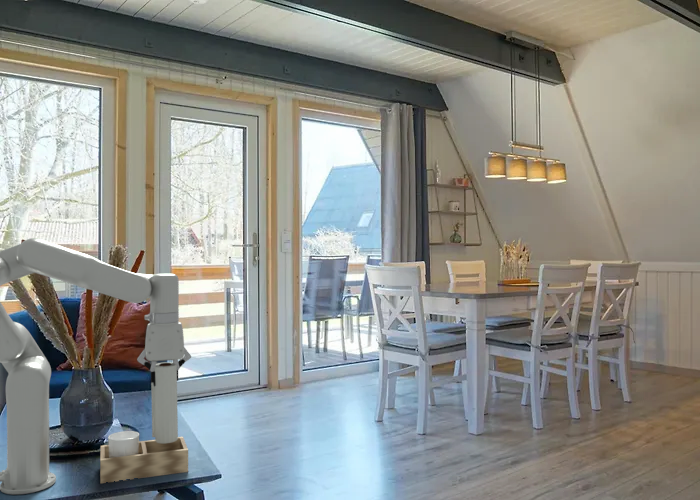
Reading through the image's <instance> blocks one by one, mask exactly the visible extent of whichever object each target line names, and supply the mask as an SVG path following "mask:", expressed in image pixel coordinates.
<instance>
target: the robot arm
mask: <svg viewBox="0 0 700 500" xmlns="http://www.w3.org/2000/svg"><path fill="white" fill-rule="evenodd" d="M31 274H38V275H41V276H45V277H48V278H52V279H55V280H57V281H60V282H64V283H67V284H71V285H73V286H76V287H79V288H82V289H86V290H91V291H94V292H96V293H100V294H103V295H106V296H110V297H112V298H114V299H118V300H122V301H125V302H128V303H132V304H139V303H144V302H145V301H146V300H147V299H149V304H150V305H149V306H150V307H149V308H150V309H149V313H148V314H145V315H144V320H145V321H148V322H149V323H148V324H147V326H146V331H145V341H144V345H145V346H144V349H143V350H142V352H141V353H140V354H139V356H138V357H137V359H136V360H137V362H138V363H139V364H141V365H143V366H145V368H147V369H148V370H149V371H150V384H151V383H153V385H154V386H156V383H155V372H154V371H155V366H156V363H158V362H162V361H163V362H165V361H167V362H168V361H172V363H174V365H176V364H177V382H178V381H179V370H180V368H181V367H182V366H183V365H184V364H185V363H186V362H188V361H189V360H191V358H192V355H191V354H190V353H189V351H188V350H187V349H186V347H185V340H184V329H183V323H182V322H180V321H179V317H180V316H179V315H180V313H179V310H180V309H179V307H180V305H179V300H180V299H179V298H180V297H179V294H180V293H179V292H180V291H179V289H180V288H179V286H180V285H179V284H180V283H179V277H178V275H177V274H174V273H154V274H146V273H138V272H136V273H135V272H132V271H129V270H125V269H122V268H119V267H117V266H114V265H111V264H108V263H106V262H104V261H102V260H100V259H98V258H96V257H94V256H92V255H89V254H87V253H84V252H80V251H78V250H74V249H71V248H68V247H64V246H63V245H59V244H56V243H52V242H50V241H47V240H45V239H43V238H38V237H37V238H35V237H34V238H33V237H32V238H27V239H26V240H24V241H22V242H21V243H19V244H17V245H14V246H11V247H8V248H5V249H3V250H0V287H1V286H3V285H6V284H7V283H10V282H13V281H16V280H18V279H21V278H24V277H26V276H29V275H31ZM0 363H1V364H2V366H3V368H4V369H5V371H6V372H7V373H8V374H7V377H6V381H5V399H6V400H5V402H6V436H7V437H6V450H7V451H6V452H7V453H6V459H7V460H6V466H7V467H6V469H2V470H1V471H0V492H2V493H4V494H7V495H25V494H32V493H35V492H41V491H42V490H46V489H48V488H50V487H51V486H53V485H54V484H55V483H56V481H57V476H56V474H55V473H53V472H50V381H51V376H52V368H51V365H50V362H49V361H48V359H47V357H46V356H45V354H44V353H43V351H42V350H41V349H40V347H39V345H38V344H37V342H36V340H35V339H34V337H33V336H32V334H31V333H30V331H29V330H28V329H27V328H26V327H25V326H24V324H21V323H19V322H16V321H14V320H13V319H12V318H11V316H10V315H9V314H8V312H7V310H6V309H5V306H4V304H2V302H1V301H0Z"/></svg>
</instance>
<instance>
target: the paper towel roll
mask: <svg viewBox="0 0 700 500" xmlns="http://www.w3.org/2000/svg"><path fill="white" fill-rule="evenodd" d="M154 372H155V383H156V386H154V385H153V383H151V382H150V386H151V387H150V388H151V391H150V392H151V430H152V431H151V437H152V438H154V440H155V441H156V442H157V443H160V444H166V443H172V442H175V441H176V440H177V439H178V437H179V434H178V432H179V431H178V430H179V426H178V421H179V420H178V381H177V364H176V365H174V363H173V361H172V362H171V361H170V362H168V361H167V362H165V361H163V362H157V363H156V366H155V371H154Z"/></svg>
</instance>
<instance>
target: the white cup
mask: <svg viewBox="0 0 700 500" xmlns="http://www.w3.org/2000/svg"><path fill="white" fill-rule="evenodd" d="M107 441H108V442H107V443H108V446H109V458H113V457H121V456H130V455H138V451H139V441H140V433H139V432H138V431H132V430H126V431H118V432H114V433H111V434H109V435H108V437H107Z"/></svg>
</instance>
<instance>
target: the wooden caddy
mask: <svg viewBox="0 0 700 500" xmlns="http://www.w3.org/2000/svg"><path fill="white" fill-rule="evenodd" d="M99 457H100V460H99V461H100V469H99V471H100V474H99V476H100V483H99V484H106V482H108V483H114V481H115V482H120V481H119V480H123V481H127V480H126V479H130V480H135V479H134V478H138V479H143V478H145V479H146V478H152V477H158V476H165V475H166V476H167V475H174V474H175V475H176V474H182V473H188V472H189V448H188V446H187V443H186V440H185V438H184V436H178V439H177V440H176V441H175V442H172V443H166V444H160V443H157V442H156V441H155V439H149V440H139V451H138V455H130V456H121V457H113V458H109V446H108V445H106V444H105V445H104V444H103V445H100V456H99Z"/></svg>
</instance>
